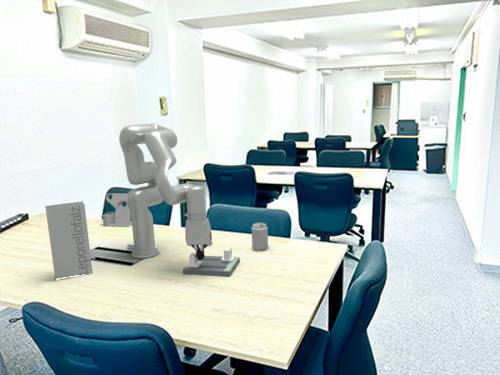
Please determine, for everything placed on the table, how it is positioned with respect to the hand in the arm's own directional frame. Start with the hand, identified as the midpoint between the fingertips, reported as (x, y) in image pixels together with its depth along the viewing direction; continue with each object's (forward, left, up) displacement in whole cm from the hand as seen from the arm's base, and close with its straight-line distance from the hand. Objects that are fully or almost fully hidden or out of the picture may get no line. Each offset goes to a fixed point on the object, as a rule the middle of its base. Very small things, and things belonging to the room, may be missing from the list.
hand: (200, 259), depth 172 cm
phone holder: (-72, +60, -6) cm, 94 cm away
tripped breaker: (-3, 0, -3) cm, 4 cm away
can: (+19, +30, -5) cm, 36 cm away
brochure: (-52, -11, -5) cm, 54 cm away
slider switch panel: (+3, +4, -5) cm, 7 cm away
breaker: (+9, +8, -3) cm, 13 cm away
